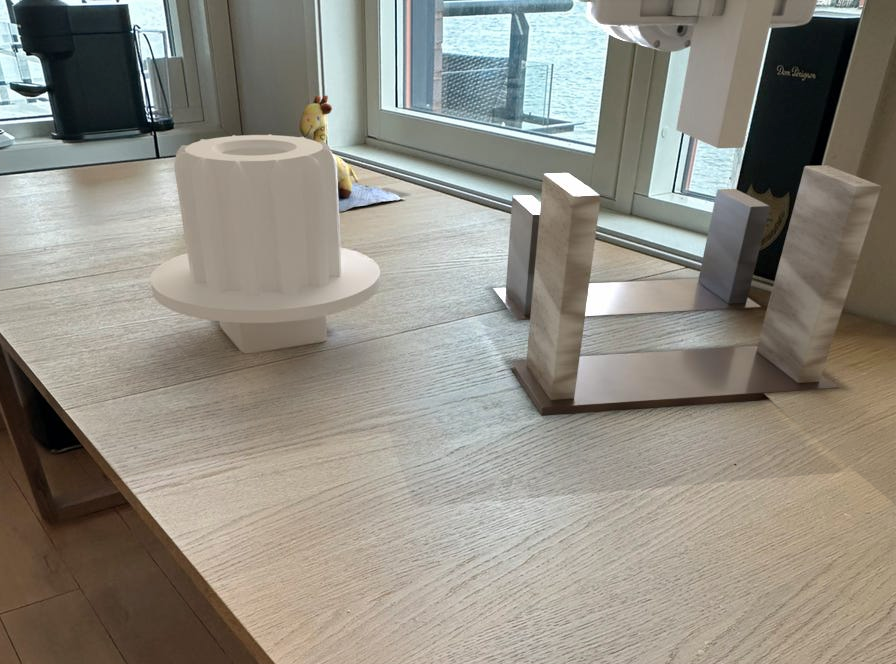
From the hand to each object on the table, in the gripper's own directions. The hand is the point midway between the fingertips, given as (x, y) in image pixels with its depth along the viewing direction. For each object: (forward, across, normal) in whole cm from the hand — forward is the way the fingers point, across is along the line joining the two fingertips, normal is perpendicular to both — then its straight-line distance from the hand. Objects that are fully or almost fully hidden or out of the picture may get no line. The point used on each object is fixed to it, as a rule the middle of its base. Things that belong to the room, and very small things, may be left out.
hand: (739, 3), depth 70 cm
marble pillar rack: (+2, 0, +32) cm, 32 cm away
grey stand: (-22, +4, +32) cm, 39 cm away
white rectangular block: (-1, 0, +10) cm, 10 cm away
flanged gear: (-18, -40, +32) cm, 55 cm away
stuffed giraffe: (-83, -27, +32) cm, 93 cm away
